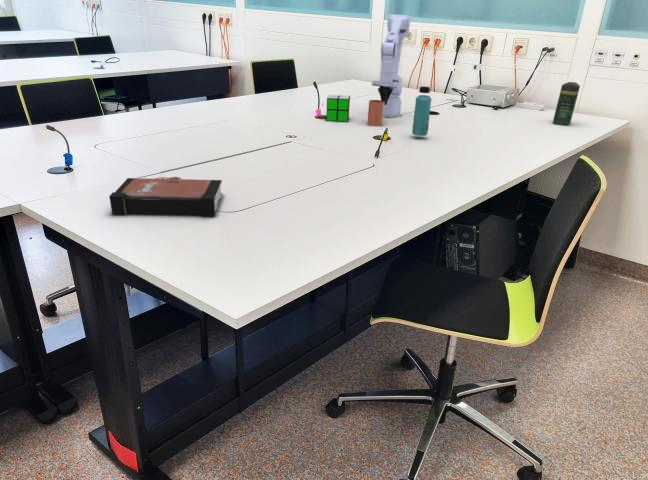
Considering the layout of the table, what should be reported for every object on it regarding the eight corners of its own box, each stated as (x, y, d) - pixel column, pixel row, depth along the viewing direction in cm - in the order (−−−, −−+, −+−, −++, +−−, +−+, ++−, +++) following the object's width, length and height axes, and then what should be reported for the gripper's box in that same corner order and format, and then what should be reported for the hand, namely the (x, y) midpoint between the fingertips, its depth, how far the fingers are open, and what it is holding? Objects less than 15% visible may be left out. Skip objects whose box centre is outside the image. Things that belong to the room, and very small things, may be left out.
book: (223, 194, 156) (222, 177, 153) (214, 216, 141) (213, 198, 138) (130, 192, 154) (128, 175, 152) (112, 214, 139) (109, 196, 137)
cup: (373, 122, 249) (375, 99, 244) (385, 124, 245) (387, 101, 240) (364, 124, 245) (365, 100, 240) (376, 126, 241) (378, 103, 236)
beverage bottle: (426, 140, 222) (433, 88, 212) (410, 138, 223) (416, 87, 213) (427, 136, 227) (433, 86, 217) (411, 135, 228) (417, 85, 218)
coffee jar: (568, 126, 255) (579, 84, 246) (551, 124, 258) (561, 82, 249) (571, 122, 262) (582, 82, 253) (554, 120, 265) (564, 80, 256)
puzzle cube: (349, 117, 256) (350, 95, 251) (347, 122, 248) (349, 99, 243) (327, 116, 257) (328, 94, 252) (326, 120, 248) (326, 97, 243)
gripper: (368, 71, 240) (366, 103, 246) (394, 74, 231) (391, 108, 238) (378, 70, 244) (375, 101, 251) (404, 73, 236) (401, 106, 243)
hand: (384, 104), depth 245 cm, fingers closed
